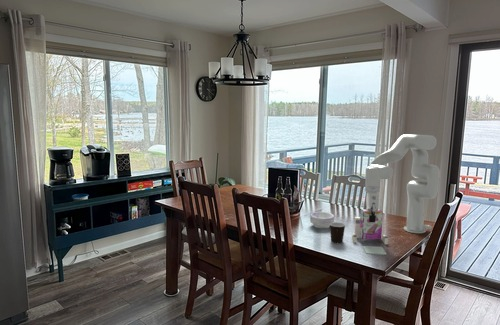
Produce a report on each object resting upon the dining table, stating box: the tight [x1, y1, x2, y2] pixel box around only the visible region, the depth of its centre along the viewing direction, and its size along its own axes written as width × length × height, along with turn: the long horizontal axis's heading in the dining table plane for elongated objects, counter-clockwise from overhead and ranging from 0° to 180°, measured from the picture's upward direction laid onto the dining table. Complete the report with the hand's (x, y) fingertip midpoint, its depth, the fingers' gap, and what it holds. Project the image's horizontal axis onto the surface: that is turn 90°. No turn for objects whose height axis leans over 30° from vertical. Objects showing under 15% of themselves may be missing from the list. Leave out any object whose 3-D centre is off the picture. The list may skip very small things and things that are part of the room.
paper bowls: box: [309, 211, 335, 230], centre depth 221 cm, size 15×15×8 cm
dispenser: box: [351, 216, 389, 245], centre depth 195 cm, size 18×12×12 cm, turn 82°
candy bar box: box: [359, 208, 384, 241], centre depth 190 cm, size 11×5×16 cm, turn 93°
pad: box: [362, 245, 387, 256], centre depth 180 cm, size 10×10×1 cm
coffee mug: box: [329, 221, 346, 244], centre depth 192 cm, size 12×9×10 cm
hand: (371, 220), depth 189 cm, fingers closed on candy bar box, 5 cm apart
